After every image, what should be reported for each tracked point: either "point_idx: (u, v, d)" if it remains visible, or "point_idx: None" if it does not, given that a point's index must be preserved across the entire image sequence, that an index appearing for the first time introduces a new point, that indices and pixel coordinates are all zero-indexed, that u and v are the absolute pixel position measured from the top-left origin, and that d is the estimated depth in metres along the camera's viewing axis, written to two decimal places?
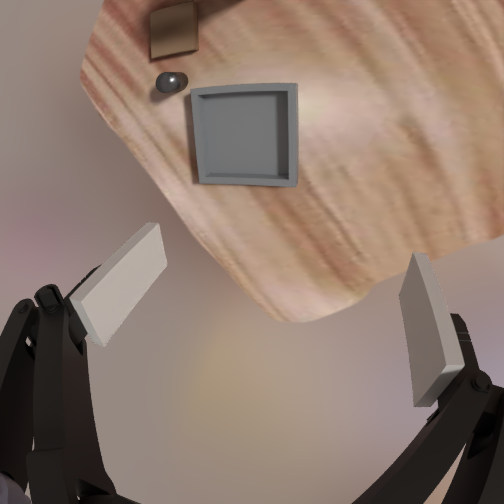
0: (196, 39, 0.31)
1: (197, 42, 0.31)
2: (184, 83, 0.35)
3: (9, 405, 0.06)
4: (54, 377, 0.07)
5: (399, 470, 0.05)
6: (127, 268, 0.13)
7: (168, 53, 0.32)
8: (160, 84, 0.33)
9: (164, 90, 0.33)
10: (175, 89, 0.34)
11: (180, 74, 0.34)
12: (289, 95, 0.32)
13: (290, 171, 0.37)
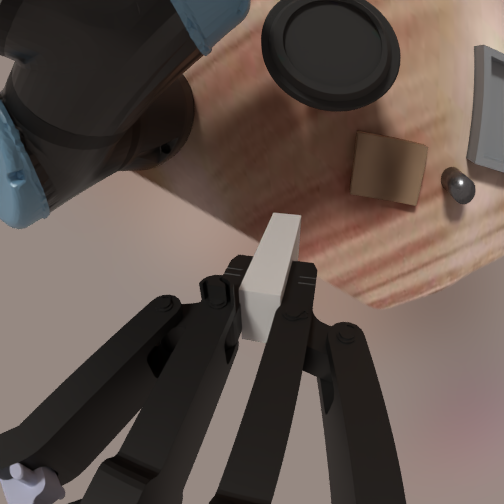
0: (412, 142, 0.26)
1: (416, 143, 0.26)
2: (460, 171, 0.25)
3: (93, 415, 0.06)
4: (184, 391, 0.07)
5: (243, 417, 0.06)
6: None
7: (420, 182, 0.27)
8: (464, 197, 0.24)
9: (472, 194, 0.24)
10: None
11: (451, 172, 0.25)
12: (495, 56, 0.15)
13: None
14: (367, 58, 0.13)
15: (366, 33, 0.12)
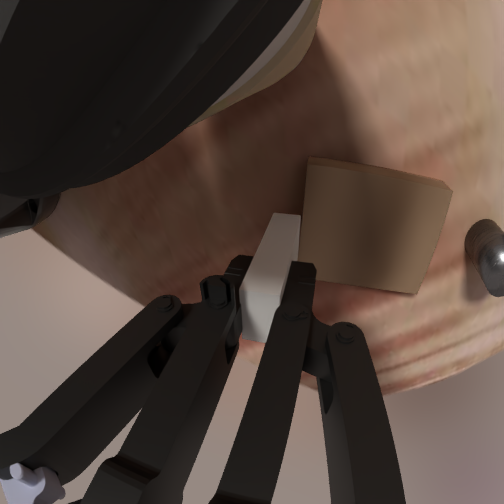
0: (422, 179, 0.13)
1: (429, 180, 0.13)
2: (500, 229, 0.13)
3: (93, 415, 0.06)
4: (184, 391, 0.07)
5: (243, 417, 0.06)
6: None
7: (429, 255, 0.15)
8: None
9: None
10: None
11: (486, 234, 0.13)
12: None
13: None
14: None
15: None
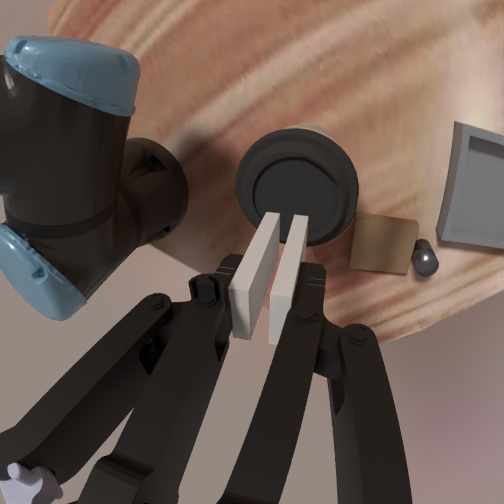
0: (405, 221, 0.31)
1: (408, 221, 0.31)
2: (428, 244, 0.31)
3: (88, 413, 0.07)
4: (176, 388, 0.07)
5: (253, 418, 0.06)
6: (267, 256, 0.13)
7: (411, 254, 0.32)
8: (427, 271, 0.30)
9: (435, 268, 0.30)
10: None
11: (418, 246, 0.31)
12: (474, 134, 0.22)
13: None
14: (324, 211, 0.19)
15: (325, 188, 0.18)
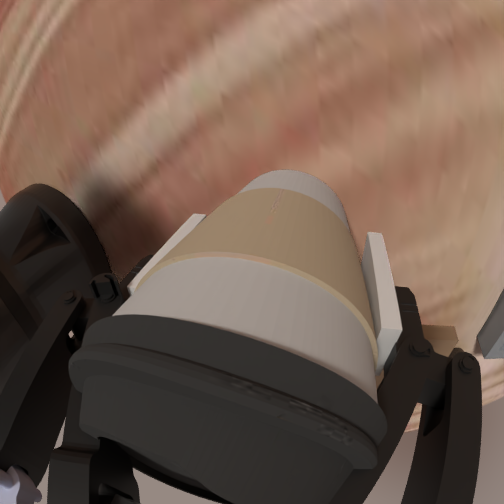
0: (439, 332, 0.18)
1: (443, 331, 0.18)
2: None
3: (37, 402, 0.06)
4: None
5: None
6: None
7: None
8: None
9: None
10: None
11: None
12: None
13: None
14: None
15: None
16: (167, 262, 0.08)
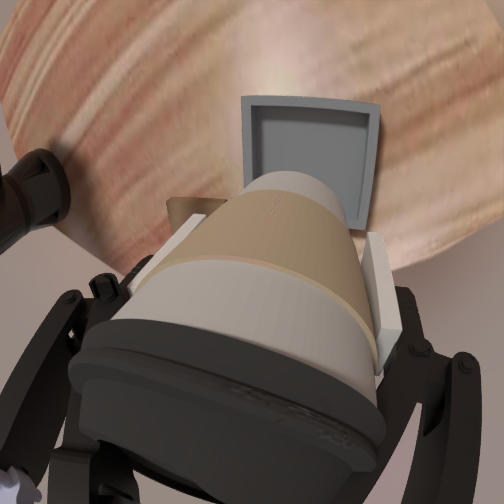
0: (212, 200, 0.36)
1: (216, 200, 0.36)
2: None
3: (37, 402, 0.06)
4: None
5: None
6: None
7: None
8: None
9: None
10: None
11: None
12: (256, 103, 0.27)
13: (358, 109, 0.24)
14: None
15: None
16: (166, 265, 0.08)
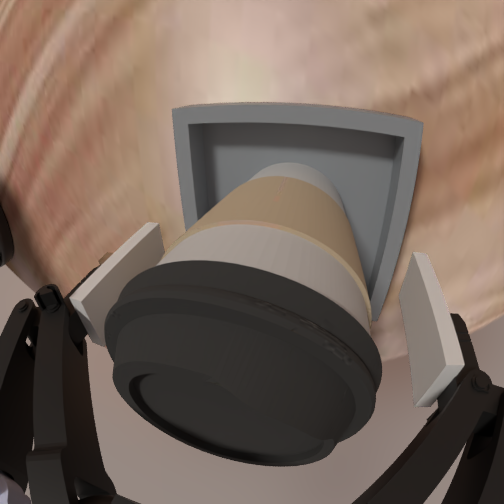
0: None
1: None
2: None
3: (9, 405, 0.06)
4: (54, 377, 0.07)
5: (399, 470, 0.05)
6: (127, 268, 0.13)
7: None
8: None
9: None
10: None
11: None
12: (197, 120, 0.15)
13: (383, 129, 0.13)
14: (291, 444, 0.07)
15: None
16: (193, 231, 0.09)
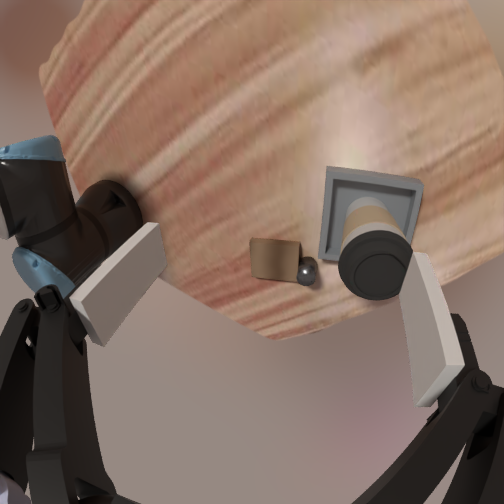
0: (289, 243, 0.46)
1: (292, 242, 0.46)
2: (311, 260, 0.47)
3: (9, 405, 0.06)
4: (54, 377, 0.07)
5: (399, 470, 0.05)
6: (127, 268, 0.13)
7: (297, 267, 0.47)
8: (306, 282, 0.45)
9: (312, 280, 0.45)
10: (314, 270, 0.45)
11: (302, 262, 0.47)
12: (337, 177, 0.37)
13: (409, 187, 0.34)
14: (395, 282, 0.29)
15: (398, 270, 0.28)
16: (363, 224, 0.31)
